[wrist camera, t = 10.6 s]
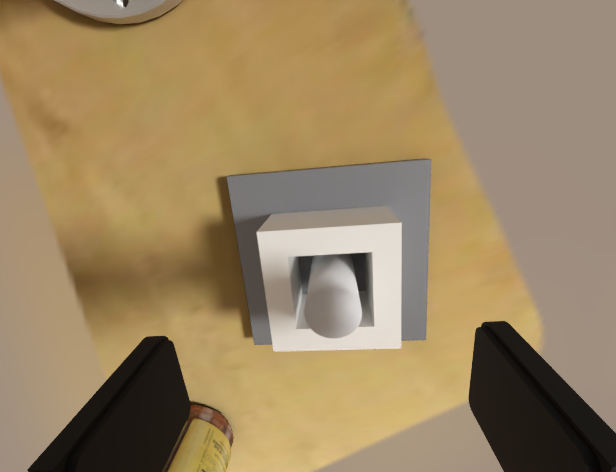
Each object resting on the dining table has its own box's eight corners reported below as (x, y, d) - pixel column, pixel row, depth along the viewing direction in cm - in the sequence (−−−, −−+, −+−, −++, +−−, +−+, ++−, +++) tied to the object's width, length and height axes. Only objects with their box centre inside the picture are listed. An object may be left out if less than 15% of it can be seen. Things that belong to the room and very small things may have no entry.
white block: (271, 213, 18) (256, 231, 15) (386, 205, 18) (401, 222, 14) (284, 313, 20) (273, 351, 17) (387, 309, 20) (401, 348, 16)
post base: (231, 175, 19) (178, 191, 12) (425, 158, 18) (483, 166, 11) (257, 336, 22) (226, 417, 16) (421, 331, 21) (463, 416, 15)
